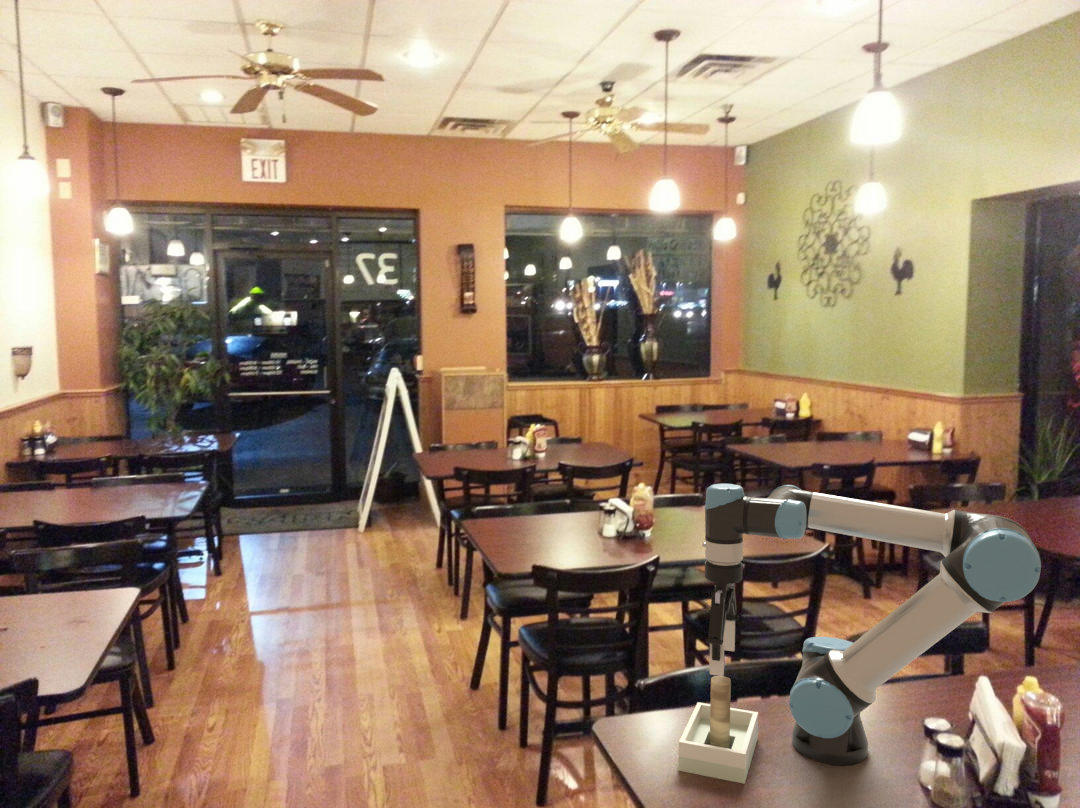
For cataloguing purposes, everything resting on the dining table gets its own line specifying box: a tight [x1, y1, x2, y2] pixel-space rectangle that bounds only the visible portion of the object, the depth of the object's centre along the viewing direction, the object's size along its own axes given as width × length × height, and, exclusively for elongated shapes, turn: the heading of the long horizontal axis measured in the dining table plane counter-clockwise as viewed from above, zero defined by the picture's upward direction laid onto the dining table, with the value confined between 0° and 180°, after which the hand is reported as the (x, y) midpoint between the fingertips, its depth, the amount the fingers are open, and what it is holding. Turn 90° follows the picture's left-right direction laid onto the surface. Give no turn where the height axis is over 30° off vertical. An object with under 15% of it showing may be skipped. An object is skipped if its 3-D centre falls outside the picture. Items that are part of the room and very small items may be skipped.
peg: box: [709, 675, 732, 749], centre depth 171 cm, size 4×4×16 cm
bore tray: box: [678, 701, 759, 785], centre depth 171 cm, size 13×19×6 cm
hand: (722, 662), depth 170 cm, fingers open, 13 cm apart
